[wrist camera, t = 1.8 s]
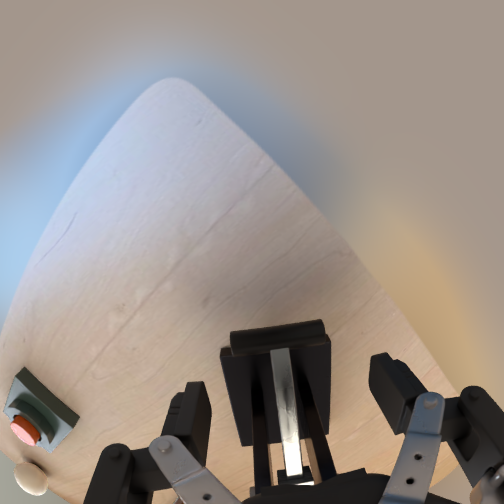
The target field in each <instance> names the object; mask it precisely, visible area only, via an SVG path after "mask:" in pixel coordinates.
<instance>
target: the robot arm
mask: <svg viewBox="0 0 504 504" xmlns="http://www.w3.org/2000/svg"><path fill="white" fill-rule="evenodd" d="M369 388H370V391H371V393H372V395H373V396H374V398H375V400H376V402H377V403H378V405H379V407H380V409H381V410H382V412H383V414H384V416H385V418H386V419H387V421H388V423H389V425H390V426H391V428H392V430H393V432H394V434H395V435H398V434H401V433H404V434H405V439H404V442H403V445H402V447H401V450H400V453H399V456H398V458H397V461H396V464H395V466H394V469H393V471H392V474H391V476H388V475H384V474H376V473H369V474H367V473H366V471H365V468H361V469H358V470H354V471H350V472H346V473H342V474H339V475H337V476H335V477H332V478H330V479H328V480H326V481H323V482H321V483H318V484H316V485H295V484H284V485H276V486H267V487H261V493H260V494H257V495H254V496H252V497H250V498H248V499H246V500H244V501H242V502H240V501H239V500H238V499H237V498H236V497H235V496H234V495H233V494H232V493H231V492H230V491H229V490H228V489H227V488H226V487H225V486H224V485H223V484H222V483H221V482H220V481H219V480H218V479H217V478H216V477H215V476H214V475H213V474H212V473H211V472H210V471H209V470H208V469H207V468H206V467H205V466H206V458H207V449H208V441H209V433H210V425H211V417H212V410H211V404H210V401H209V397H208V394H207V391H206V387H205V384H204V382H203V381H198V382H187V385H186V388H185V392H178V393H177V394H176V395H175V396H174V397H173V399H172V400H171V403H170V407H169V410H168V415H167V416H166V419H165V423H164V426H163V429H162V433H161V436H160V437H158V438H156V439H154V440H153V441H152V442H151V443H150V445H149V447H147V448H142V449H136V450H130V449H129V448H128V447H127V446H126V445H124V444H120V443H116V444H111V445H109V446H107V447H106V448H105V449H104V450H103V451H102V453H101V455H100V458H99V461H98V463H97V466H96V469H95V471H94V474H93V477H92V480H91V482H90V485H89V488H88V491H87V494H86V497H85V500H84V503H83V504H152V498H153V492H154V491H157V490H163V489H169V488H173V489H174V491H175V492H176V493H177V495H178V496H179V497H180V499H181V500H182V501H183V503H184V504H460V503H457V502H454V501H451V500H448V499H445V498H443V497H440V496H437V495H435V494H432V493H429V492H428V489H429V486H430V483H431V479H432V476H433V472H434V468H435V464H436V460H437V456H438V452H439V447H440V443H441V442H445V441H447V443H448V445H449V446H450V448H451V450H452V451H453V453H454V455H455V457H456V458H457V460H458V462H459V464H460V465H461V467H462V469H463V471H464V473H465V474H466V476H467V478H468V480H469V482H470V484H471V486H472V487H473V490H472V491H471V493H470V502H471V504H504V412H503V411H502V409H501V408H500V407H499V406H498V405H497V404H496V402H494V400H493V399H492V398H491V397H490V396H489V394H488V393H487V392H486V391H485V390H484V389H483V388H481V387H479V386H468V387H466V388H464V389H463V390H462V392H461V395H460V397H453V398H446V399H444V398H443V396H442V395H440V394H438V393H435V392H428V390H427V389H426V388H425V387H424V385H423V384H422V383H421V382H420V381H419V379H418V378H417V377H416V376H415V375H414V373H413V372H412V371H411V370H410V368H409V367H408V366H407V365H406V364H405V363H404V362H402V361H400V360H398V359H396V360H393V359H392V358H391V357H390V356H389V354H388V353H387V352H385V353H381V354H377V355H373V356H371V360H370V371H369ZM203 467H204V468H203Z"/></svg>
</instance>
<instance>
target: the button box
mask: <svg viewBox="0 0 504 504" xmlns="http://www.w3.org/2000/svg"><path fill="white" fill-rule="evenodd" d="M3 412H4V413H5V414H6V415H7V416H8V417H9V420H10V422H12V421H13V420H14V418H15V417H16V416H17V415H20V416H22V417H23V418H25V419H26V420H28V421H29V422H30V423H31V424H32V425H33V426H34V427H35V428H36V429H37V431H38V432H39V433H40V435H41V437H40V439H39V440H38V442H37V443H36V445H37V446H39V447H43V448H44V449H45V450H46V451H48V452H49V453H51V452H52V451H53V450H54V449H55V448H56V447H57V446H58V445H59V443H60V442H61V441H62V440H63V439H64V438H65V437H66V436H67V435H68V434H69V433H70V431H71V430H72V429H73V428H74V426H75V425H76V423H77V421H78V420H79V418H80V417H79V416H78V415H77V414H75V413H74V412H73V411H72V410H70V409H69V408H68V407H67V406H66V405H64V404H63V403H62V402H61V401H60V400H59V399H58V398H56V397H55V396H54V395H53V394H52V393H51V392H50V391H49V390H47V389H46V388H45V387H44V386H43V385H42V384H41V383H40V382H39V381H38V380H37V379H36V378H35V377H34V376H33V375H32V374H31V373H30V372H29V371H28V370H27V369H26V368H25V367H24V368H23V369H22V370H21V371H20V372H19V373H18V374H17V375H16V376H15V378H14V381H13V383H12V386H11V389H10V392H9V395H8V398H7V401H6V404H5V407H4V411H3Z"/></svg>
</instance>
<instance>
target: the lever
mask: <svg viewBox="0 0 504 504" xmlns="http://www.w3.org/2000/svg"><path fill="white" fill-rule="evenodd" d="M325 341H326V334H325V327H324V324H323V321H322V320H321V319H317V320H311V321H305V322H299V323H292V324H286V325H279V326H272V327H264V328H256V329H248V330H240V331H231V332H230V345H231V351H232V355H233V357H238V356H247V355H256V354H264V353H270V355H271V363H272V370H273V378H274V386H275V394H276V401H277V409H278V417H279V425H280V433H281V441H282V449H283V457H284V465H285V469H284V470H277V477H278V485H284V484H295V485H314V479H313V476H312V473H311V470H310V468H309V466H304V467H303V464H302V454H301V445H300V436H299V427H298V418H297V409H296V401H295V392H294V384H293V376H292V368H291V360H290V353H289V350H292V349H298V348H304V347H310V346H316V345H322V344H325Z"/></svg>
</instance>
